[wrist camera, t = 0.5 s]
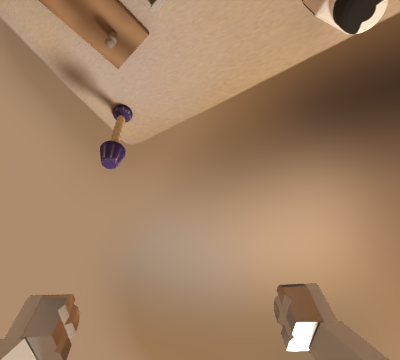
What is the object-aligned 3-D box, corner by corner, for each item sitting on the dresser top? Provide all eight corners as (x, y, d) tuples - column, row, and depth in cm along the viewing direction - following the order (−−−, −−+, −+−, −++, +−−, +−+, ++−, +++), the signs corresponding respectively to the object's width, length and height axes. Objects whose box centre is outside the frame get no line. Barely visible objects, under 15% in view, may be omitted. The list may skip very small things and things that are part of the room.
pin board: (35, -85, 36) (17, -83, 32) (149, 32, 47) (145, 44, 43) (9, -30, 41) (-9, -22, 37) (119, 66, 52) (113, 79, 48)
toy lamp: (124, 99, 57) (107, 150, 46) (139, 114, 60) (127, 166, 48) (109, 111, 59) (89, 162, 48) (124, 125, 62) (109, 177, 50)
